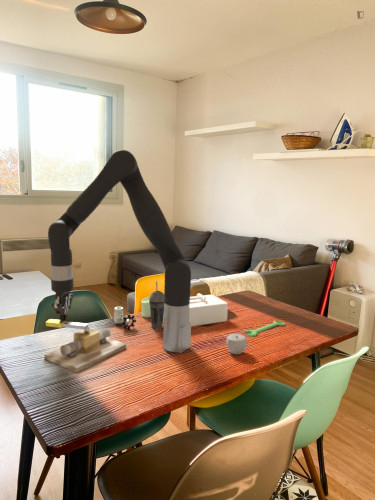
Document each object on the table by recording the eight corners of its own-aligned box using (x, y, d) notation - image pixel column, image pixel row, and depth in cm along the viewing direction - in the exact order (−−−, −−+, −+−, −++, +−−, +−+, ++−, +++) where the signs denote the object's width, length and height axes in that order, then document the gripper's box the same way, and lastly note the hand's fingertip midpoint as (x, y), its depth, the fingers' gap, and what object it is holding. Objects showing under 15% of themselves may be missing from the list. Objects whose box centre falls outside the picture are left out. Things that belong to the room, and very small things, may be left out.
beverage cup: (168, 325, 160) (169, 280, 157) (160, 331, 154) (161, 284, 151) (153, 322, 163) (154, 278, 160) (145, 327, 157) (145, 281, 154)
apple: (233, 359, 131) (234, 341, 130) (220, 350, 138) (221, 333, 137) (251, 355, 135) (252, 337, 134) (238, 346, 142) (239, 330, 141)
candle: (147, 318, 168) (148, 300, 167) (139, 315, 171) (139, 298, 169) (154, 315, 172) (154, 298, 171) (146, 313, 175) (146, 296, 174)
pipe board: (126, 347, 137) (126, 328, 136) (76, 372, 118) (76, 350, 117) (95, 337, 146) (95, 318, 144) (44, 358, 126) (43, 337, 125)
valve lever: (91, 330, 132) (90, 323, 131) (87, 333, 129) (87, 326, 128) (50, 326, 134) (50, 318, 134) (46, 329, 131) (45, 321, 131)
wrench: (240, 335, 155) (250, 340, 151) (241, 331, 155) (251, 335, 151) (277, 322, 171) (287, 325, 167) (277, 318, 171) (287, 321, 167)
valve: (109, 322, 162) (121, 331, 153) (109, 307, 161) (122, 316, 151) (123, 319, 166) (136, 328, 156) (123, 305, 165) (136, 313, 155)
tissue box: (226, 321, 169) (228, 298, 167) (176, 329, 158) (177, 304, 156) (210, 311, 181) (212, 289, 180) (163, 317, 170) (164, 294, 169)
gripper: (64, 282, 125) (66, 331, 129) (79, 273, 138) (80, 317, 141) (43, 281, 126) (45, 329, 129) (60, 271, 139) (61, 316, 142)
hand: (63, 323), depth 135 cm, fingers closed
